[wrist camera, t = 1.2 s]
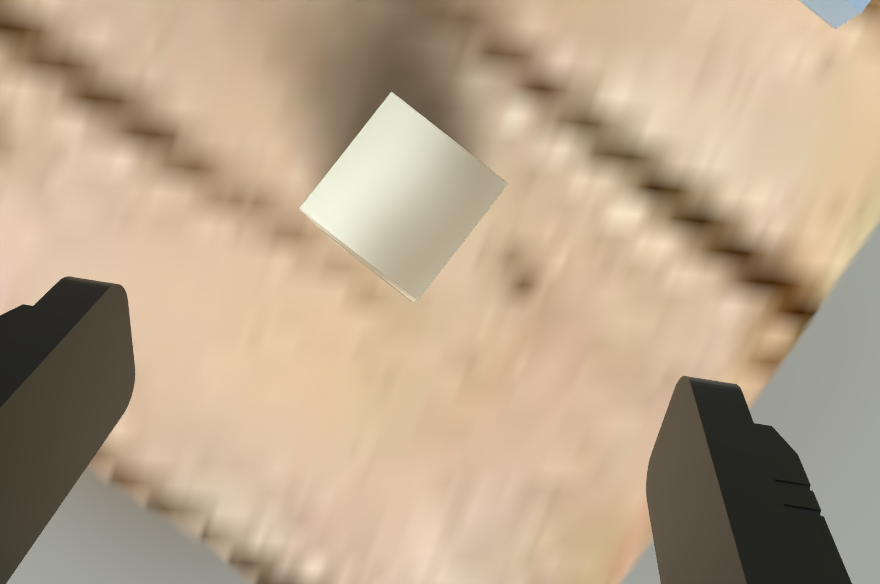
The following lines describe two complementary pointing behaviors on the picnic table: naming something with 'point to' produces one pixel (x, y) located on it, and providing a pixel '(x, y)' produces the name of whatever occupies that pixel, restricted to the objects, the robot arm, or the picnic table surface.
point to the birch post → (403, 197)
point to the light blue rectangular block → (836, 9)
